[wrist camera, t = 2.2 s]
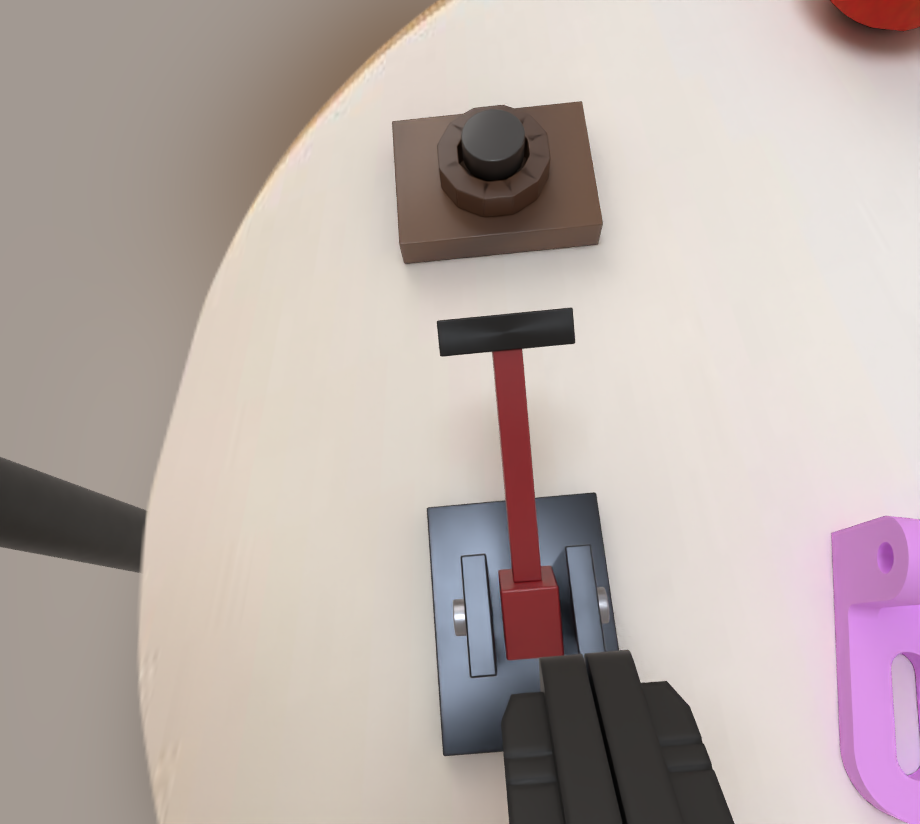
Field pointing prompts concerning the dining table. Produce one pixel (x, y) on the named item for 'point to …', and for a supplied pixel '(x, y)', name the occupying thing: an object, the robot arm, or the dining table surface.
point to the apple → (882, 13)
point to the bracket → (876, 653)
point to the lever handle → (518, 469)
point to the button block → (495, 188)
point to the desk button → (493, 144)
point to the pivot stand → (480, 615)
